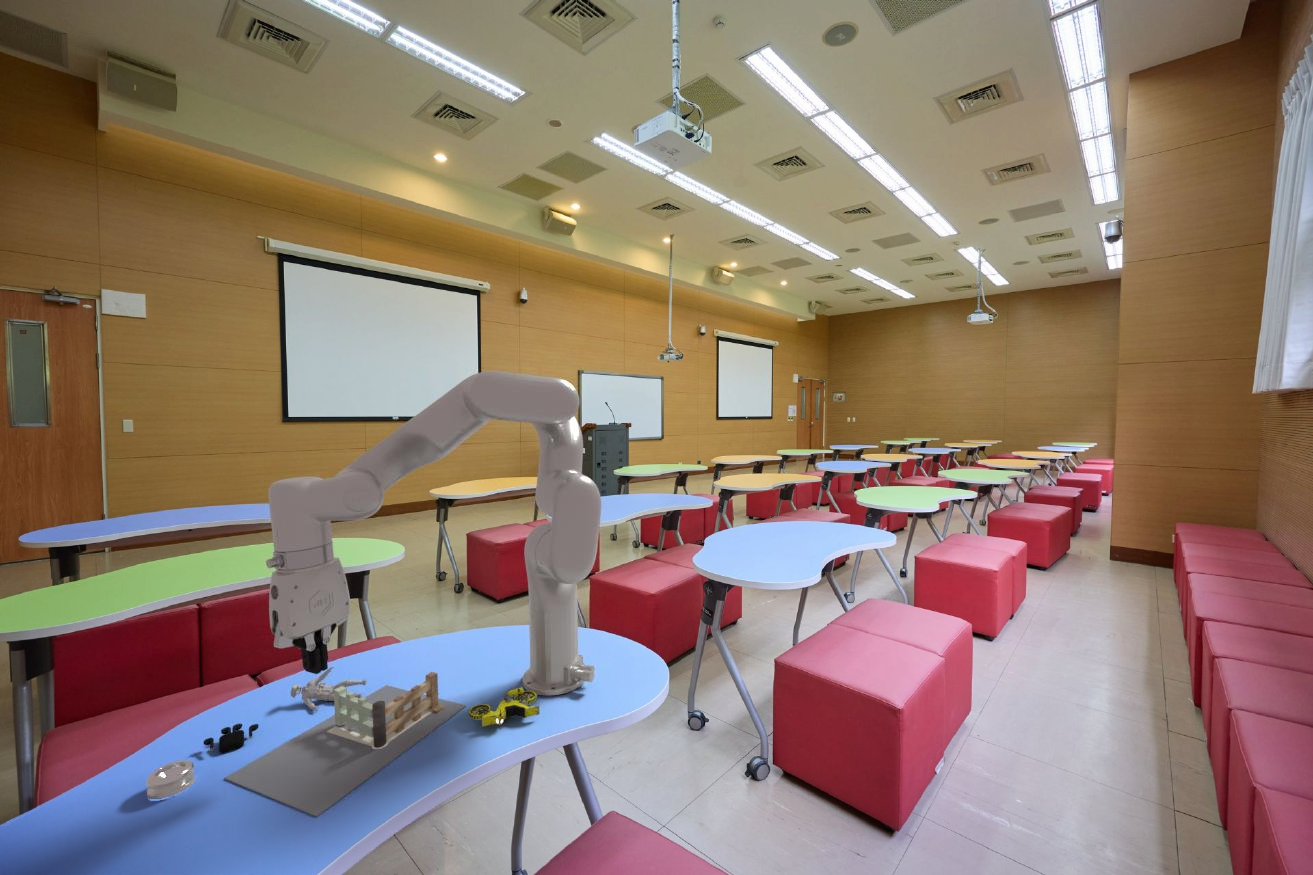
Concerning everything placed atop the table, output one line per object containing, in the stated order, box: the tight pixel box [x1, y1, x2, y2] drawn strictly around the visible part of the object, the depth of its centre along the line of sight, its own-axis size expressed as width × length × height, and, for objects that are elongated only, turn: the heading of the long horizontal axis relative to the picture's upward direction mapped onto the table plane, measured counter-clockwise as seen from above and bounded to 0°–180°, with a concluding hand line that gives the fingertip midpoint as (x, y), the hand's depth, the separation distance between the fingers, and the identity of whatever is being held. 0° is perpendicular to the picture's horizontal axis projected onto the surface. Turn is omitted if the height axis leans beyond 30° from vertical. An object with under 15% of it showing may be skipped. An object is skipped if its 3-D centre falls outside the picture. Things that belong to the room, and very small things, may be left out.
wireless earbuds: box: [203, 723, 259, 754], centre depth 85 cm, size 7×2×5 cm
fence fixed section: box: [372, 671, 444, 748], centre depth 89 cm, size 13×4×7 cm, turn 158°
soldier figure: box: [290, 666, 368, 712], centre depth 97 cm, size 8×5×12 cm
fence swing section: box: [333, 686, 373, 736], centre depth 87 cm, size 10×1×6 cm, turn 60°
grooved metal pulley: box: [146, 759, 196, 799], centre depth 75 cm, size 5×3×5 cm
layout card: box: [223, 684, 467, 818], centre depth 86 cm, size 20×28×1 cm
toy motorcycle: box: [467, 686, 541, 731], centre depth 91 cm, size 12×4×7 cm
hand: (316, 669), depth 82 cm, fingers closed
